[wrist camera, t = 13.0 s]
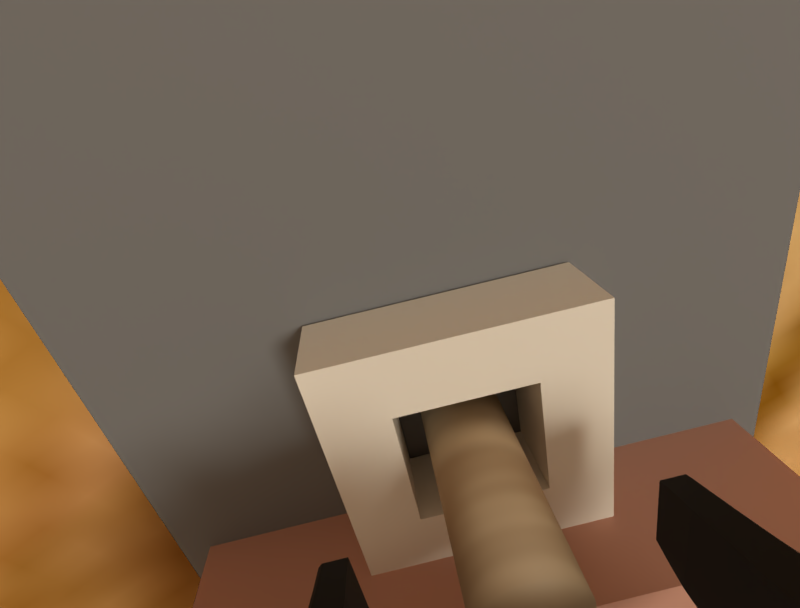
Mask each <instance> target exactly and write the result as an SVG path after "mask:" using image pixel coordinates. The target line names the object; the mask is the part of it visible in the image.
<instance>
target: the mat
mask: <svg viewBox="0 0 800 608" xmlns="http://www.w3.org/2000/svg"><path fill="white" fill-rule="evenodd" d="M799 192H800V0H0V279H1V281H2V282H3V284H4V285H5V287H6V288H7V290H8V291H9V293H10V294H11V296H12V297H13V299H14V300H15V302H16V303H17V305H18V306H19V308H20V309H21V311H22V312H23V314H24V315H25V317H26V318H27V320H28V321H29V323H30V324H31V326H32V327H33V328H34V330H35V331H36V333H37V334H38V336H39V337H40V339H41V340H42V342H43V343H44V345H45V346H46V348H47V349H48V351H49V352H50V354H51V355H52V357H53V358H54V360H55V361H56V363H57V364H58V366H59V367H60V369H61V370H62V372H63V373H64V375H65V376H66V378H67V379H68V381H69V382H70V384H71V385H72V387H73V388H74V390H75V391H76V393H77V394H78V396H79V397H80V399H81V400H82V402H83V403H84V405H85V406H86V408H87V409H88V411H89V412H90V414H91V415H92V417H93V418H94V420H95V421H96V423H97V424H98V426H99V427H100V429H101V430H102V432H103V433H104V435H105V436H106V438H107V439H108V441H109V442H110V444H111V445H112V447H113V448H114V450H115V451H116V453H117V454H118V456H119V457H120V459H121V460H122V462H123V463H124V465H125V466H126V468H127V469H128V471H129V472H130V474H131V475H132V476H133V478H134V479H135V481H136V482H137V484H138V485H139V487H140V488H141V490H142V491H143V493H144V494H145V496H146V497H147V499H148V500H149V502H150V503H151V505H152V506H153V508H154V509H155V511H156V512H157V514H158V515H159V517H160V518H161V520H162V521H163V523H164V524H165V526H166V527H167V529H168V530H169V532H170V533H171V535H172V536H173V538H174V539H175V541H176V542H177V544H178V545H179V547H180V548H181V550H182V551H183V553H184V554H185V556H186V557H187V559H188V560H189V562H190V563H191V565H192V566H193V568H194V569H195V571H196V572H197V574H198V575H199V577H200V578H201V577H202V573H203V570H204V566H205V563H206V560H207V556H208V553H209V549H210V547H211V546H215V545H220V544H224V543H228V542H232V541H236V540H240V539H244V538H248V537H252V536H256V535H260V534H264V533H268V532H272V531H277V530H281V529H285V528H289V527H293V526H297V525H301V524H305V523H309V522H313V521H317V520H321V519H325V518H330V517H334V516H338V515H342V514H346V513H347V511H346V509H345V506H344V503H343V501H342V498H341V496H340V493H339V491H338V488H337V485H336V483H335V480H334V478H333V475H332V473H331V470H330V467H329V465H328V462H327V460H326V457H325V454H324V452H323V449H322V447H321V444H320V442H319V439H318V436H317V434H316V431H315V429H314V426H313V424H312V421H311V418H310V416H309V413H308V411H307V408H306V406H305V403H304V400H303V398H302V395H301V393H300V390H299V388H298V385H297V382H296V380H295V377H294V372H295V366H296V360H297V354H298V349H299V343H300V337H301V331H302V326H306V325H310V324H314V323H319V322H323V321H327V320H331V319H335V318H339V317H343V316H347V315H352V314H356V313H360V312H364V311H368V310H372V309H376V308H381V307H385V306H389V305H393V304H397V303H401V302H405V301H410V300H414V299H418V298H422V297H426V296H430V295H434V294H438V293H443V292H447V291H451V290H455V289H459V288H463V287H467V286H472V285H476V284H480V283H484V282H488V281H492V280H496V279H501V278H505V277H509V276H513V275H517V274H521V273H525V272H529V271H534V270H538V269H542V268H546V267H550V266H554V265H558V264H563V263H567V262H570V263H571V264H572V265H573V266H575V267H576V268H577V269H578V270H580V271H581V272H582V273H584V274H585V275H586V276H587V277H589V278H590V279H591V280H593V281H594V282H595V283H596V284H598V285H599V286H600V287H601V288H603V289H604V290H605V291H607V292H608V293H609V294H610V295H612V296H613V297H614V298H615V335H614V448H615V447H619V446H623V445H627V444H631V443H635V442H639V441H643V440H647V439H652V438H656V437H660V436H664V435H668V434H672V433H676V432H680V431H684V430H688V429H692V428H696V427H700V426H705V425H709V424H713V423H717V422H721V421H725V420H729V419H733V420H734V421H735V422H736V423H738V424H739V425H740V426H741V427H742V428H743V429H745V430H746V431H747V432H748V433H749V434H750V435H752V436H754V430H755V425H756V420H757V414H758V409H759V404H760V398H761V393H762V388H763V383H764V377H765V372H766V367H767V361H768V356H769V351H770V345H771V340H772V335H773V330H774V324H775V319H776V314H777V308H778V303H779V298H780V292H781V287H782V282H783V276H784V271H785V266H786V261H787V255H788V250H789V245H790V239H791V234H792V229H793V223H794V218H795V213H796V208H797V202H798V197H799ZM496 395H497V397H498V400H499V402H500V404H501V406H502V408H503V410H504V412H505V414H506V416H507V418H508V420H509V422H510V424H511V426H512V428H513V430H514V433H516V432H520V431H521V430H520V422H519V413H518V405H517V396H516V389H512V390H508V391H504V392H500V393H496ZM399 421H400V424H401V428H402V432H403V435H404V439H405V443H406V446H407V450H408V454H409V457H410V458H414V457H418V456H422V455H426V454H430V452H429V447H428V443H427V439H426V434H425V430H424V426H423V421H422V417H421V412H418V413H414V414H410V415H406V416H402V417H399Z"/></svg>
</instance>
